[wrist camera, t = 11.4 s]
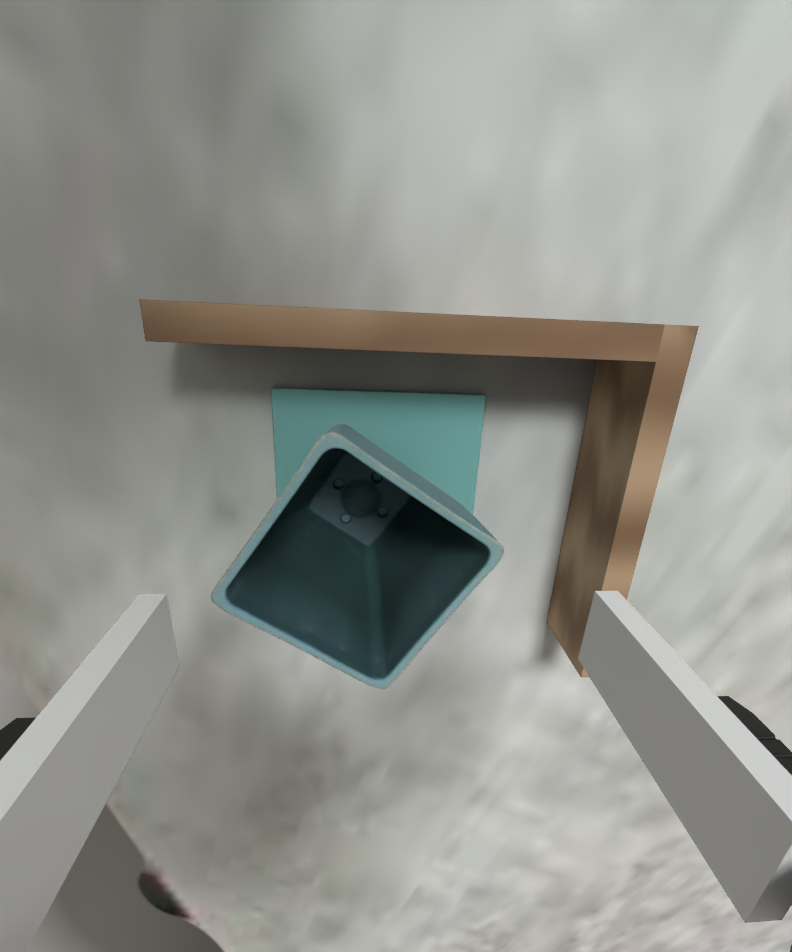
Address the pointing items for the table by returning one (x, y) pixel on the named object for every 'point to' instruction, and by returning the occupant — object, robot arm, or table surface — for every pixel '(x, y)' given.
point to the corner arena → (613, 343)
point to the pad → (386, 432)
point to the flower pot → (358, 560)
